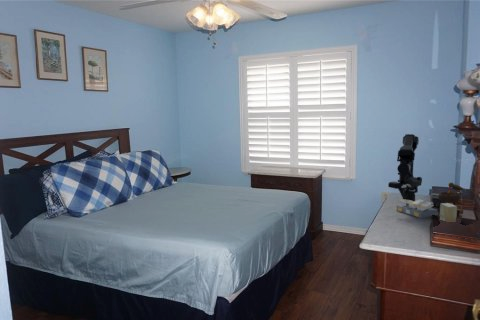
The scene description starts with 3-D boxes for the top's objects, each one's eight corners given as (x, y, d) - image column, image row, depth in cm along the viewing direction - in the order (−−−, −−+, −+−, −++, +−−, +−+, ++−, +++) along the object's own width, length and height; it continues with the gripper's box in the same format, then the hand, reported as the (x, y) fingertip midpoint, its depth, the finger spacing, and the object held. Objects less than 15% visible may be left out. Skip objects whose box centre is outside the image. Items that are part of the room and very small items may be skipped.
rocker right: (417, 209, 191) (416, 206, 191) (428, 204, 194) (427, 201, 193) (422, 211, 188) (422, 208, 187) (433, 205, 191) (433, 202, 190)
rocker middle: (408, 207, 196) (408, 204, 196) (419, 202, 199) (419, 199, 198) (414, 208, 193) (413, 205, 193) (424, 203, 196) (424, 200, 195)
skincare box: (438, 228, 170) (439, 203, 169) (447, 227, 171) (448, 202, 169) (447, 232, 164) (448, 206, 162) (456, 232, 164) (457, 206, 163)
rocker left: (400, 201, 201) (401, 198, 201) (410, 203, 204) (411, 200, 204) (405, 203, 198) (406, 199, 198) (415, 204, 201) (416, 201, 201)
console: (396, 210, 201) (396, 203, 201) (412, 208, 206) (412, 201, 205) (420, 218, 187) (420, 210, 186) (437, 215, 191) (437, 207, 191)
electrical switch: (450, 210, 200) (450, 194, 198) (449, 213, 196) (450, 197, 194) (431, 208, 205) (431, 192, 204) (430, 211, 201) (430, 195, 199)
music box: (464, 219, 182) (467, 181, 178) (465, 227, 173) (468, 187, 169) (430, 216, 190) (432, 179, 186) (429, 223, 180) (431, 185, 176)
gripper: (404, 175, 186) (403, 204, 188) (430, 171, 193) (429, 200, 195) (388, 171, 197) (387, 199, 199) (413, 169, 204) (412, 196, 206)
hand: (404, 199), depth 199 cm, fingers closed
